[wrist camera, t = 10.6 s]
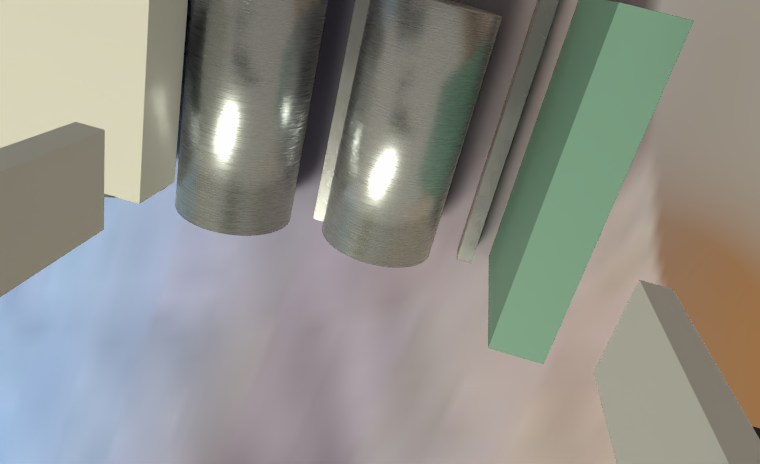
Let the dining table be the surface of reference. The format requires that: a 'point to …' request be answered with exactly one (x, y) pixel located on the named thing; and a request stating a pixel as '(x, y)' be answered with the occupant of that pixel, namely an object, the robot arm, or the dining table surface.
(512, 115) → the cradle
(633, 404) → the robot arm
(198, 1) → the roller bed
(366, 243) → the roller
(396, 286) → the dining table surface
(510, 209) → the bar
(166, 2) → the slab
